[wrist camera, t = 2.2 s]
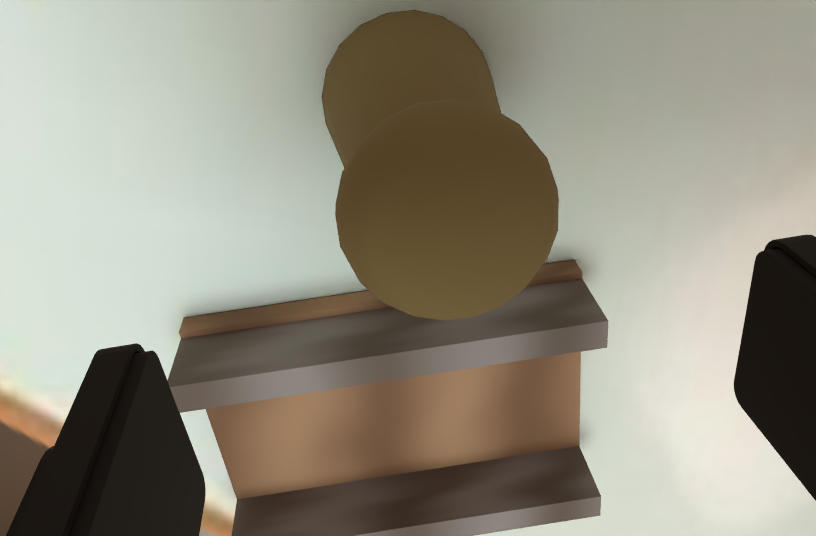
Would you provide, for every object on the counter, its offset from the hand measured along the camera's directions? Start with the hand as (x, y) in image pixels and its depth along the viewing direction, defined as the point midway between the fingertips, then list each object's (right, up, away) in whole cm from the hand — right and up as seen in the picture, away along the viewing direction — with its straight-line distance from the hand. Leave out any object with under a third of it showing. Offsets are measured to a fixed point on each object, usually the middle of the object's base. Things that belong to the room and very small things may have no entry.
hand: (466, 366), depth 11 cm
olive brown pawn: (-1, +8, +14) cm, 16 cm away
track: (-1, -4, +20) cm, 20 cm away
